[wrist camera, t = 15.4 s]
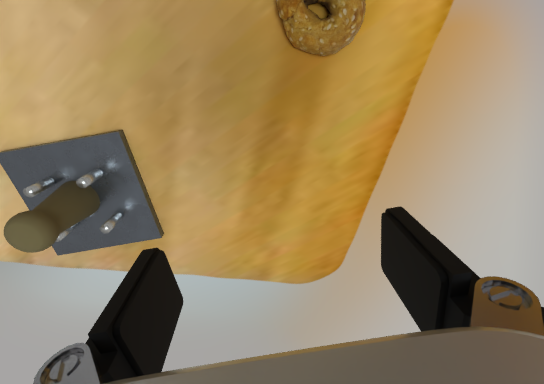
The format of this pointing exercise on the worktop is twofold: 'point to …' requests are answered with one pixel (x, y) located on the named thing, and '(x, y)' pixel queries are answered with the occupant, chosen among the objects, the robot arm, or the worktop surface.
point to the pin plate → (86, 172)
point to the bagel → (321, 24)
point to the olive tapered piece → (51, 217)
